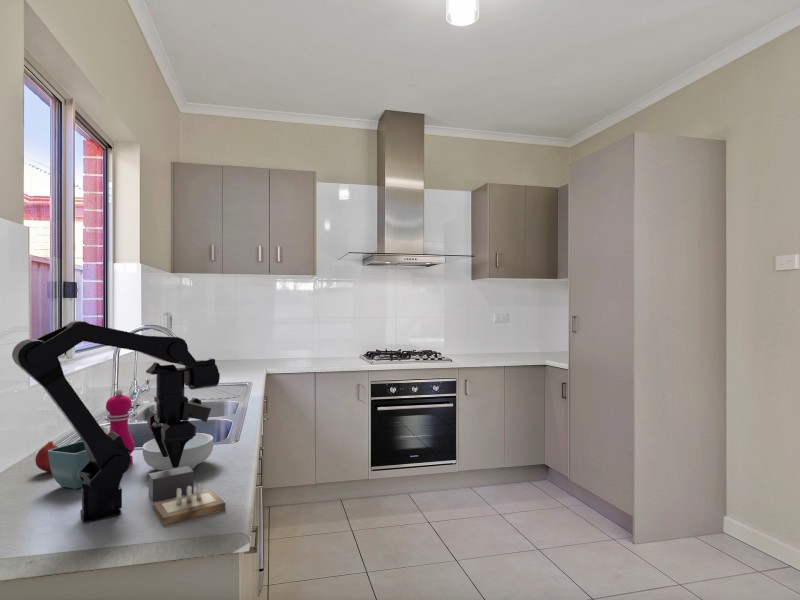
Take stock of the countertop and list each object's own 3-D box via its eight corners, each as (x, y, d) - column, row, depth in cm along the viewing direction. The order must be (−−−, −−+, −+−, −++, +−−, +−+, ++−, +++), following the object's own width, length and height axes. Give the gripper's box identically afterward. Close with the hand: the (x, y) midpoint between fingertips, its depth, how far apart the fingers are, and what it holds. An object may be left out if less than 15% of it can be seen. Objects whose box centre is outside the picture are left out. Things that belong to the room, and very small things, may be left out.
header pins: (177, 506, 104) (176, 489, 104) (175, 504, 105) (175, 488, 105) (202, 500, 107) (202, 484, 107) (200, 499, 108) (200, 482, 108)
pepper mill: (127, 458, 140) (127, 385, 139) (139, 464, 135) (139, 388, 135) (98, 465, 134) (98, 389, 134) (110, 471, 129) (109, 392, 129)
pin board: (163, 525, 99) (163, 517, 99) (153, 510, 106) (153, 502, 106) (225, 509, 106) (225, 502, 106) (211, 496, 113) (211, 489, 113)
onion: (37, 478, 125) (36, 445, 124) (34, 472, 129) (33, 440, 129) (65, 472, 128) (64, 441, 128) (61, 467, 133) (61, 436, 133)
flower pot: (81, 476, 126) (81, 440, 126) (108, 480, 123) (108, 443, 123) (46, 488, 118) (46, 450, 118) (74, 493, 115) (74, 454, 115)
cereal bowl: (182, 454, 143) (182, 429, 143) (227, 462, 136) (227, 436, 136) (127, 473, 128) (127, 445, 128) (174, 484, 121) (174, 454, 121)
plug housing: (152, 502, 110) (152, 479, 110) (148, 496, 113) (148, 473, 113) (193, 493, 115) (193, 471, 115) (188, 487, 118) (188, 466, 118)
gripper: (220, 394, 111) (220, 465, 111) (196, 383, 126) (196, 446, 126) (165, 400, 105) (165, 476, 105) (146, 387, 120) (146, 454, 120)
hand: (170, 461), depth 114 cm, fingers open, 9 cm apart
